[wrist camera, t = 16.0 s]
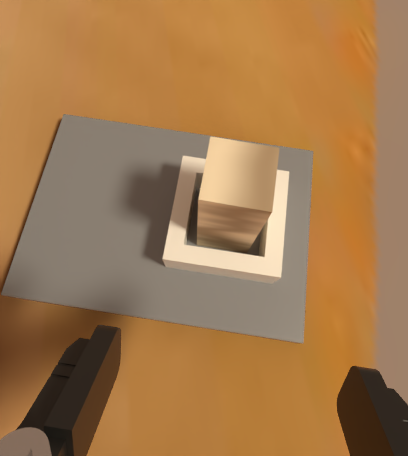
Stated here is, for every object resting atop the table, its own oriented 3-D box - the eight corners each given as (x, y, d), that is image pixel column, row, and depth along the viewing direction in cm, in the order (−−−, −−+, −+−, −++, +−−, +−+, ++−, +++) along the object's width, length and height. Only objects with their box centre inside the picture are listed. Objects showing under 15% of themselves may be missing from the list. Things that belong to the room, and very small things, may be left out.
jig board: (10, 297, 28) (-23, 289, 24) (69, 123, 34) (51, 92, 30) (297, 343, 28) (316, 344, 24) (308, 159, 34) (324, 133, 29)
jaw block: (196, 245, 29) (198, 199, 19) (205, 199, 30) (210, 136, 21) (246, 253, 29) (272, 212, 19) (252, 207, 30) (279, 147, 21)
